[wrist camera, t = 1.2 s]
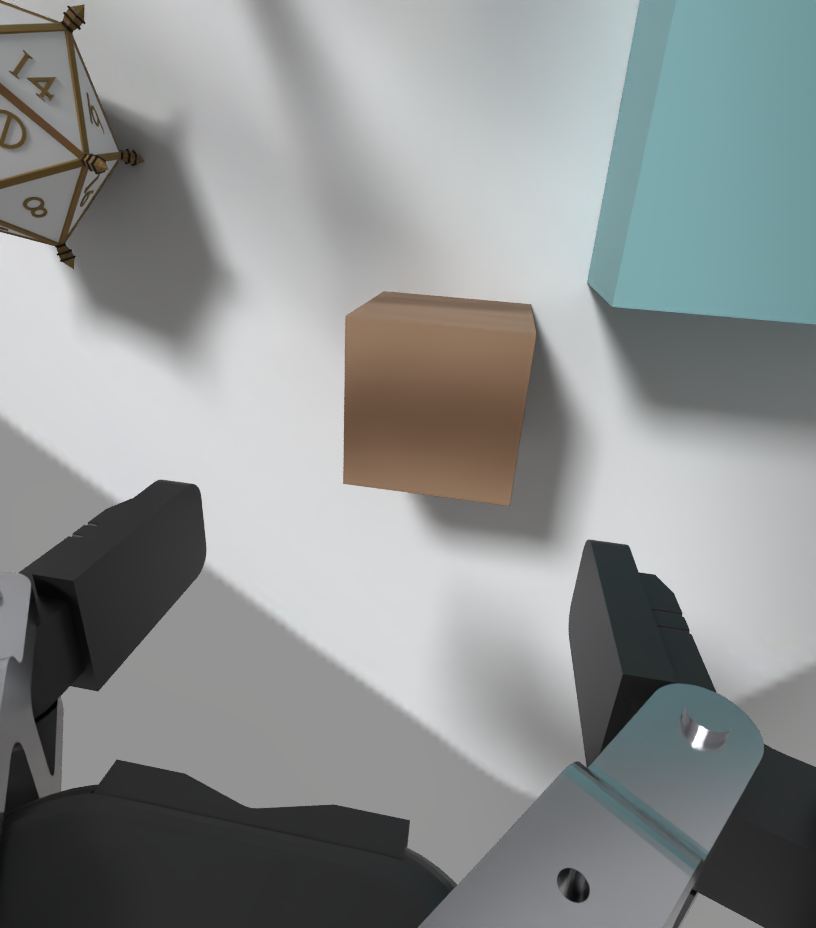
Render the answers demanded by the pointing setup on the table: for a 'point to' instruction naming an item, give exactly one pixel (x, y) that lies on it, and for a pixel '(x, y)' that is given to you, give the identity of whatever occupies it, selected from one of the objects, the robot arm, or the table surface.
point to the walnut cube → (436, 394)
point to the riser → (714, 164)
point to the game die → (49, 129)
